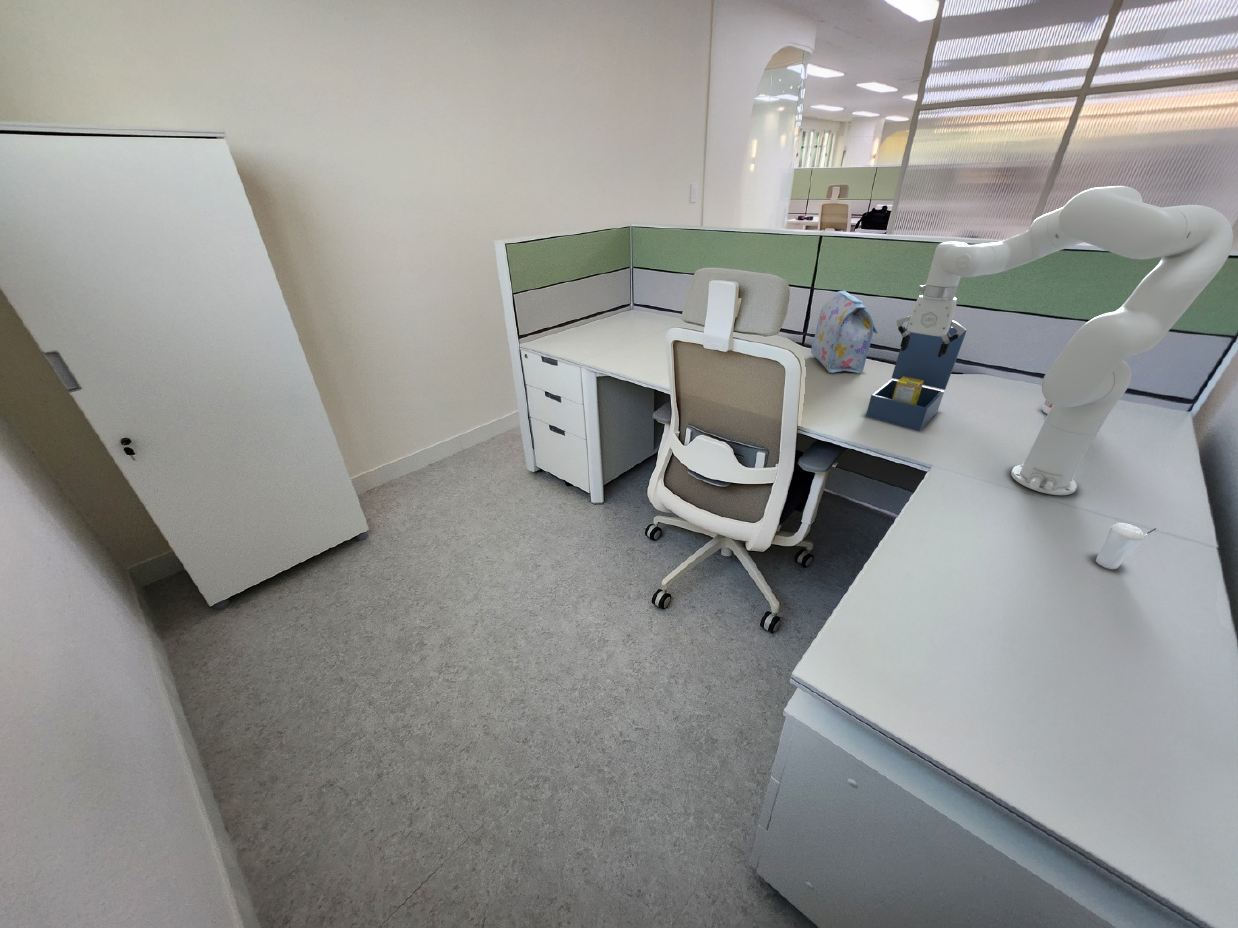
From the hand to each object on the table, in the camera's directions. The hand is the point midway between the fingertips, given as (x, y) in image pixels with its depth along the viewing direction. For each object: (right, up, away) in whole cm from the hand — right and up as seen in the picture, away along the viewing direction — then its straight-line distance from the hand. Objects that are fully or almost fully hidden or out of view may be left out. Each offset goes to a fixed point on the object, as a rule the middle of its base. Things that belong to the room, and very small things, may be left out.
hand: (921, 352), depth 140 cm
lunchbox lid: (+7, +1, +9) cm, 11 cm away
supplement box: (0, -17, +11) cm, 20 cm away
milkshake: (+7, -52, -46) cm, 70 cm away
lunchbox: (+1, -17, +12) cm, 21 cm away
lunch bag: (-1, +7, +52) cm, 53 cm away
